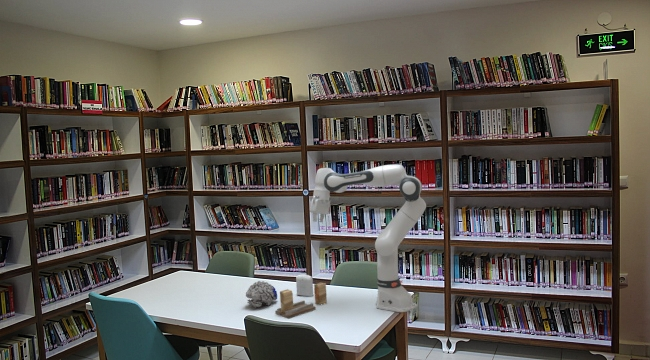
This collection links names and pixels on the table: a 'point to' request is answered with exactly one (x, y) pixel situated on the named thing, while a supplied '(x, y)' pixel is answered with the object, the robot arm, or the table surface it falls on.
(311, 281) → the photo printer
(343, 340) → the table surface
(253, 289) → the educational model
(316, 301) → the wooden block
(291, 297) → the wooden block stand
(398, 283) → the robot arm
